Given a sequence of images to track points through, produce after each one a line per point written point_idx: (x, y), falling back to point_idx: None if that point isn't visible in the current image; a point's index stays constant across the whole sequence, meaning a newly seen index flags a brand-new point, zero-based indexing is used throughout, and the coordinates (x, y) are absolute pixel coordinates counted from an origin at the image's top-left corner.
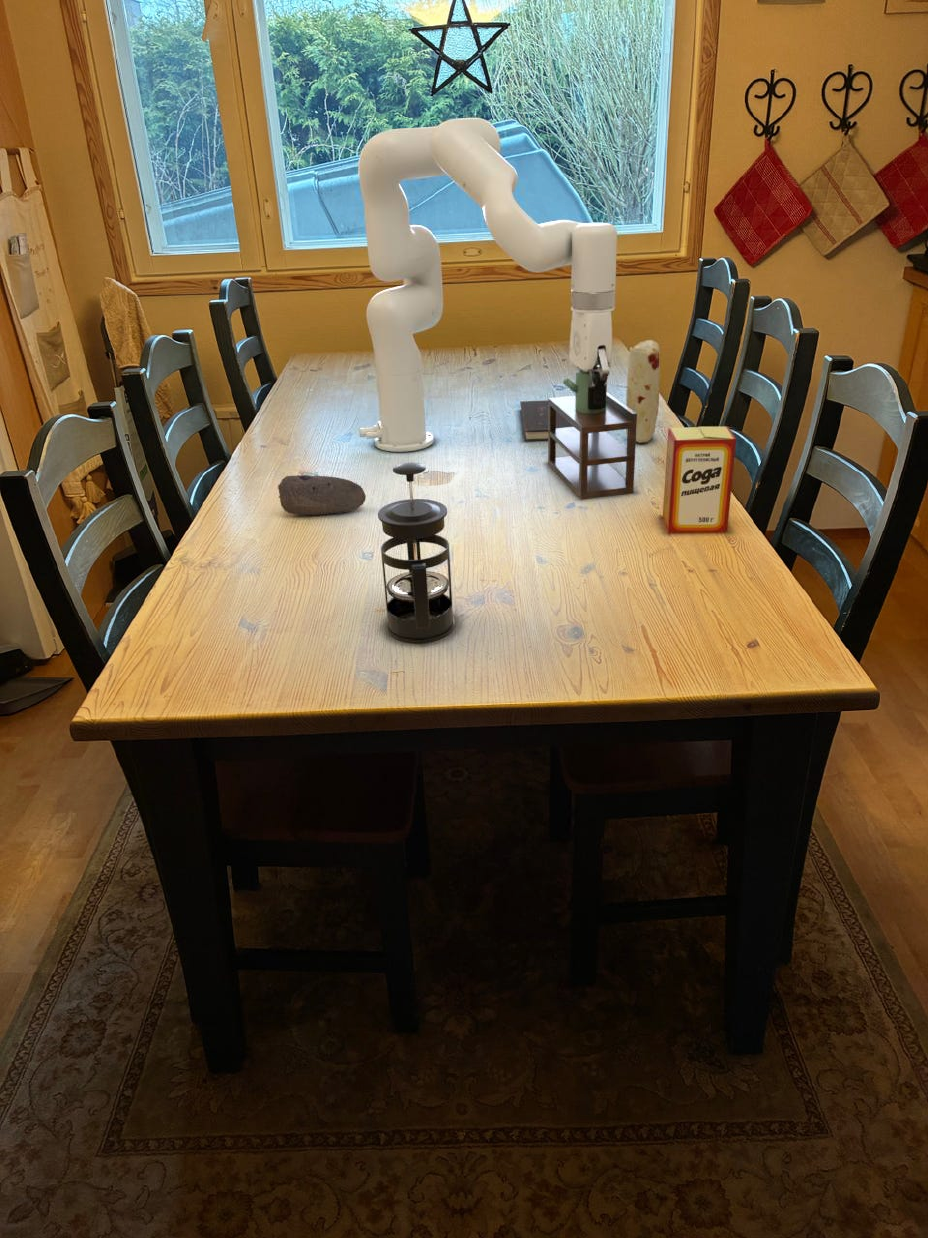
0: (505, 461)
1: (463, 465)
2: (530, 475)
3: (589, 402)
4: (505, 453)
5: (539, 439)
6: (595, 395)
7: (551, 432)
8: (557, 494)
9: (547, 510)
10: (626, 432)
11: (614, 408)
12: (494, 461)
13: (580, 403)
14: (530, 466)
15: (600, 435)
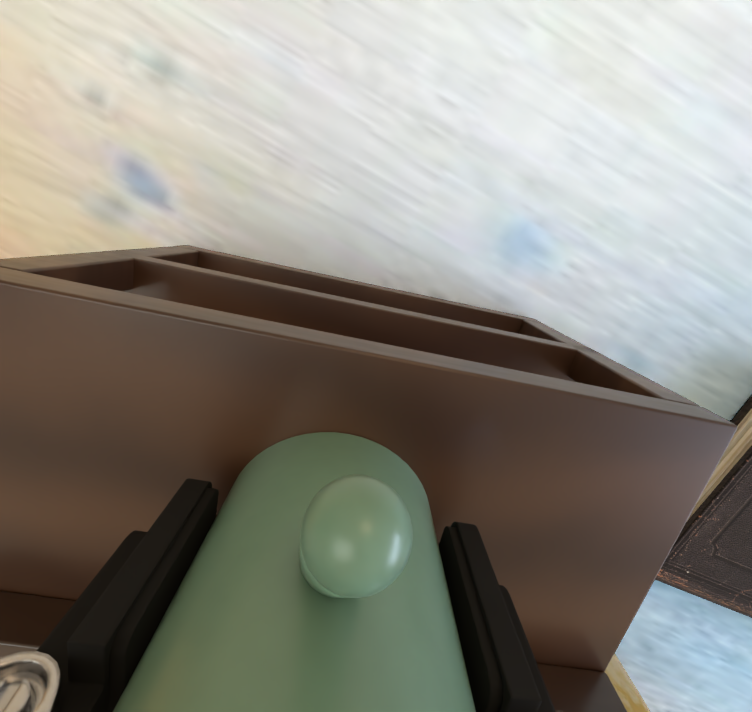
0: (659, 201)
1: (742, 15)
2: (477, 210)
3: (161, 514)
4: (729, 245)
5: (746, 407)
6: (79, 600)
7: (555, 345)
8: (262, 199)
9: (129, 80)
10: None
11: None
12: (688, 163)
13: (279, 474)
14: (555, 256)
15: None
